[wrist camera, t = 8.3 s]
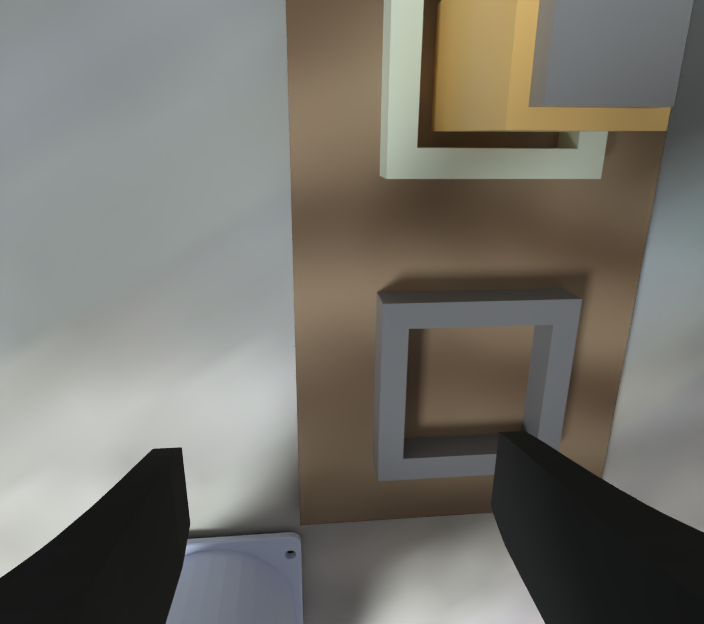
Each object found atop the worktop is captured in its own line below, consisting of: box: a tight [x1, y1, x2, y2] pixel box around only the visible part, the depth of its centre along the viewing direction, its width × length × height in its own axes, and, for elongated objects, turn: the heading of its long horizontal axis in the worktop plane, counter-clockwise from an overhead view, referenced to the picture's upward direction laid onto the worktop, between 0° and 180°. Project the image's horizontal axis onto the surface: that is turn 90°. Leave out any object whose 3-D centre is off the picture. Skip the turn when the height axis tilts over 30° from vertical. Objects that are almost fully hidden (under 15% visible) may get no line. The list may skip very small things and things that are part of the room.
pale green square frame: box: [380, 0, 608, 179], centre depth 18 cm, size 8×8×2 cm
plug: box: [431, 0, 694, 132], centre depth 15 cm, size 4×4×8 cm
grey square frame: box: [373, 288, 582, 481], centre depth 21 cm, size 8×8×2 cm
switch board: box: [286, 0, 671, 525], centre depth 21 cm, size 26×14×1 cm, turn 0°
